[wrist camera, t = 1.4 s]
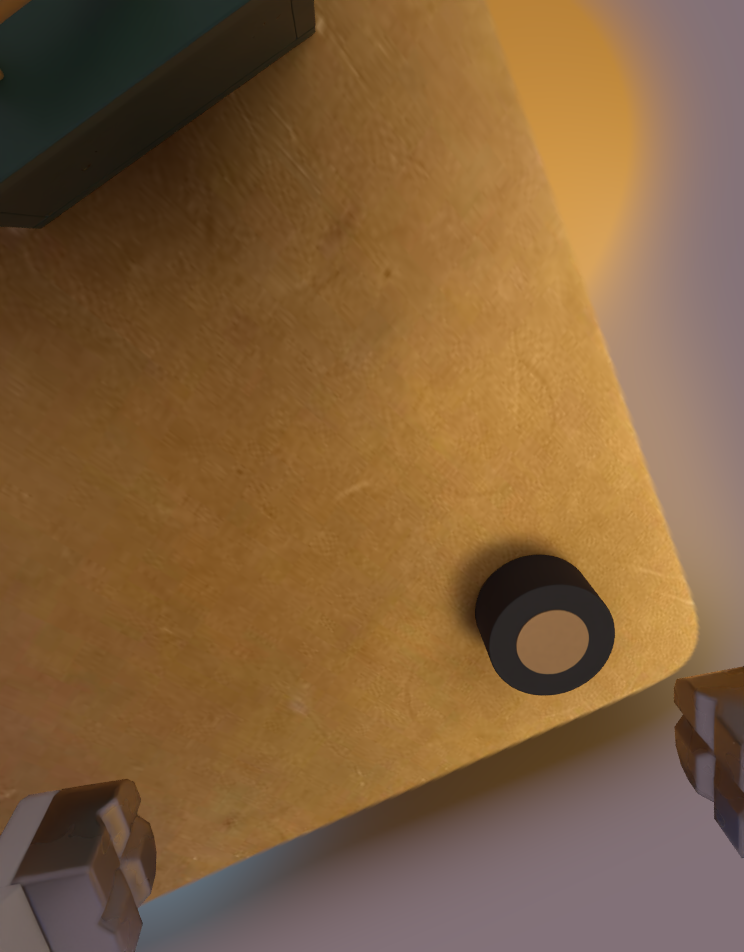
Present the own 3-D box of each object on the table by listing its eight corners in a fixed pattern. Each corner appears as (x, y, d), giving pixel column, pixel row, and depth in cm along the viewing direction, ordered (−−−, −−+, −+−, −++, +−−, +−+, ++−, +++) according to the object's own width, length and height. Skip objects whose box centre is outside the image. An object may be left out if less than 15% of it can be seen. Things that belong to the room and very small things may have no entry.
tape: (558, 532, 31) (581, 562, 28) (609, 621, 33) (636, 657, 30) (453, 593, 32) (466, 627, 29) (509, 676, 34) (526, 717, 31)
